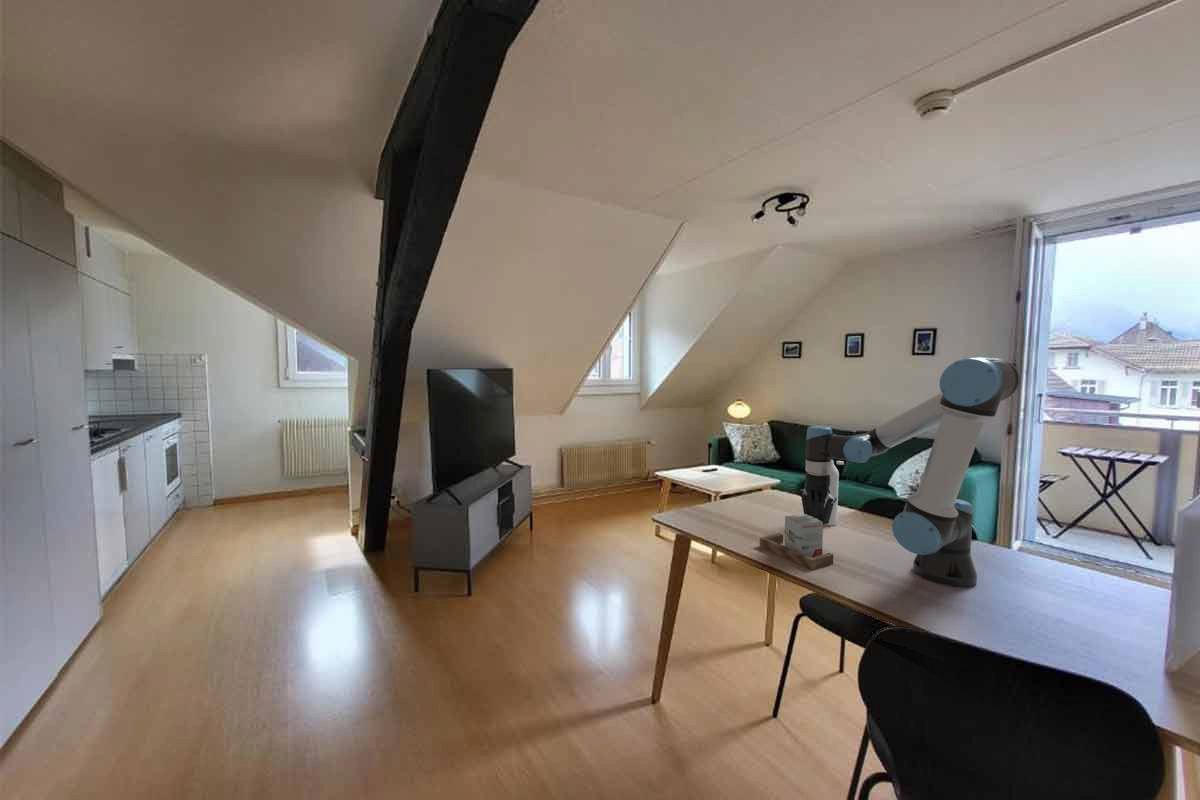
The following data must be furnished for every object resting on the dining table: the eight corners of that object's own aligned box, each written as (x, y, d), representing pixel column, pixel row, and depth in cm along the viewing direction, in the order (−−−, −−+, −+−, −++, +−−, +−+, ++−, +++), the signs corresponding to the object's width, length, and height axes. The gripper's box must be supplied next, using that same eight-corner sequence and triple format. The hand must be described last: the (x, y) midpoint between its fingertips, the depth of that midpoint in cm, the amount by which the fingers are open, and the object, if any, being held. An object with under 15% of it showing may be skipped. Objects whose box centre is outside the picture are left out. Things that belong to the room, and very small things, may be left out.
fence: (833, 563, 148) (833, 554, 148) (812, 570, 144) (812, 560, 144) (779, 541, 167) (779, 533, 167) (759, 546, 163) (759, 537, 162)
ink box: (805, 547, 162) (806, 513, 161) (823, 557, 154) (824, 521, 153) (783, 549, 160) (784, 515, 159) (799, 559, 152) (800, 523, 151)
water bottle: (815, 522, 187) (816, 459, 184) (825, 519, 190) (827, 457, 188) (835, 528, 179) (837, 463, 177) (846, 525, 182) (848, 461, 180)
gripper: (843, 475, 154) (840, 546, 156) (808, 467, 165) (806, 534, 167) (827, 478, 150) (825, 551, 152) (793, 470, 162) (791, 538, 164)
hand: (815, 542), depth 160 cm, fingers closed
